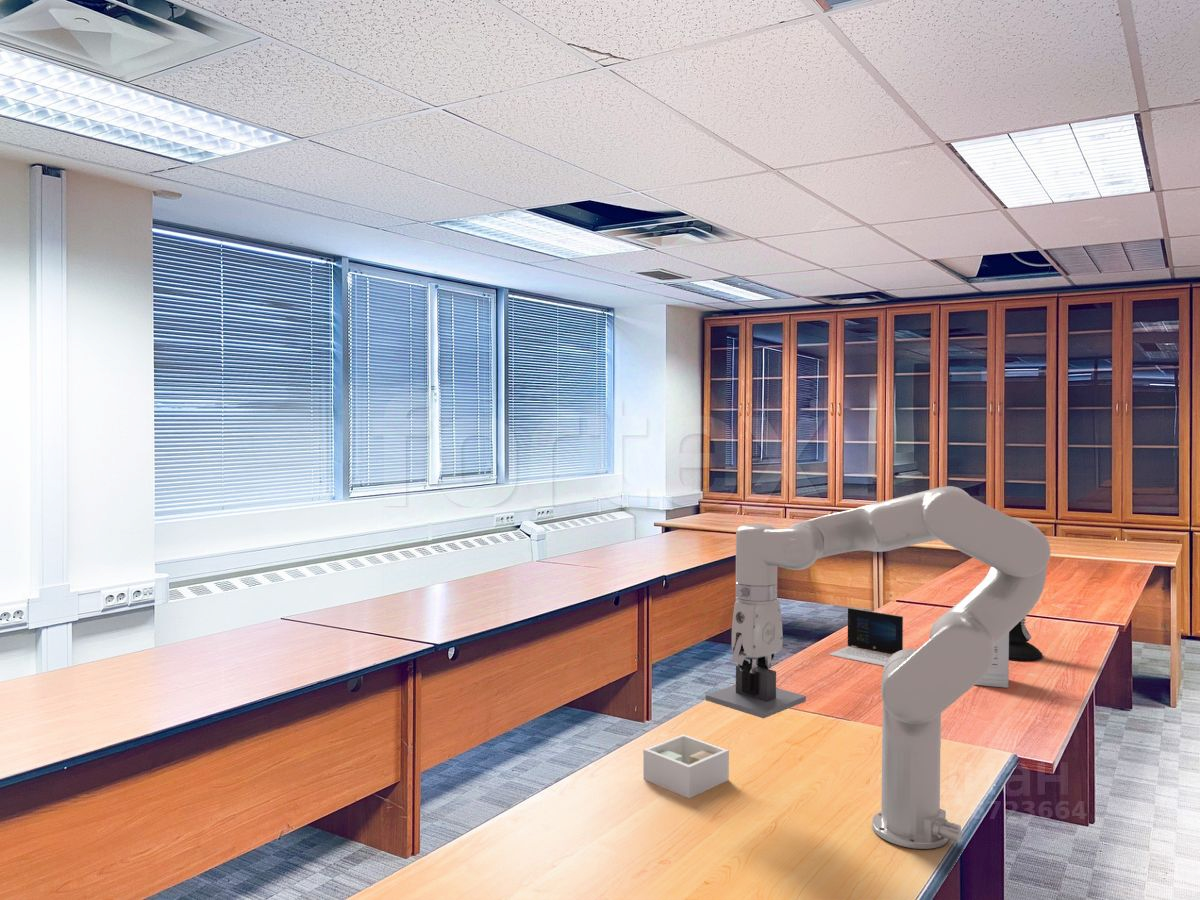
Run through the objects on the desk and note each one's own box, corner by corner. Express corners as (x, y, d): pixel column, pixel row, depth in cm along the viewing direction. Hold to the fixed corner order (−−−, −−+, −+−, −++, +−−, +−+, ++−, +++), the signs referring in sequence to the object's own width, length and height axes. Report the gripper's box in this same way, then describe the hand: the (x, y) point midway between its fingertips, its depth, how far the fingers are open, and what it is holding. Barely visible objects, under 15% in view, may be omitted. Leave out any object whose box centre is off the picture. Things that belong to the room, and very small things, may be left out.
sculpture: (1034, 664, 248) (1035, 579, 247) (951, 650, 263) (952, 570, 262) (1047, 653, 259) (1049, 572, 258) (967, 640, 275) (968, 564, 274)
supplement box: (1009, 688, 226) (1010, 626, 225) (971, 685, 229) (972, 623, 228) (1004, 678, 235) (1005, 618, 234) (968, 675, 238) (969, 615, 237)
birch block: (718, 776, 169) (718, 756, 168) (705, 781, 166) (705, 761, 166) (702, 770, 172) (702, 750, 171) (689, 775, 169) (689, 755, 169)
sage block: (682, 775, 169) (682, 755, 169) (669, 781, 166) (669, 761, 166) (667, 769, 172) (667, 750, 172) (654, 775, 169) (654, 755, 169)
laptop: (828, 656, 258) (828, 614, 258) (847, 648, 267) (848, 607, 267) (884, 668, 246) (884, 623, 246) (903, 659, 255) (903, 616, 255)
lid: (805, 701, 156) (806, 669, 155) (763, 718, 147) (763, 684, 146) (748, 685, 165) (748, 654, 165) (705, 700, 156) (705, 668, 156)
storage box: (728, 780, 169) (728, 750, 168) (689, 798, 160) (689, 767, 160) (683, 762, 177) (683, 734, 177) (643, 779, 169) (643, 749, 169)
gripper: (745, 602, 147) (745, 706, 147) (799, 589, 158) (798, 686, 159) (711, 595, 152) (711, 696, 153) (765, 583, 163) (765, 677, 164)
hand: (755, 690), depth 156 cm, fingers closed on lid, 2 cm apart
